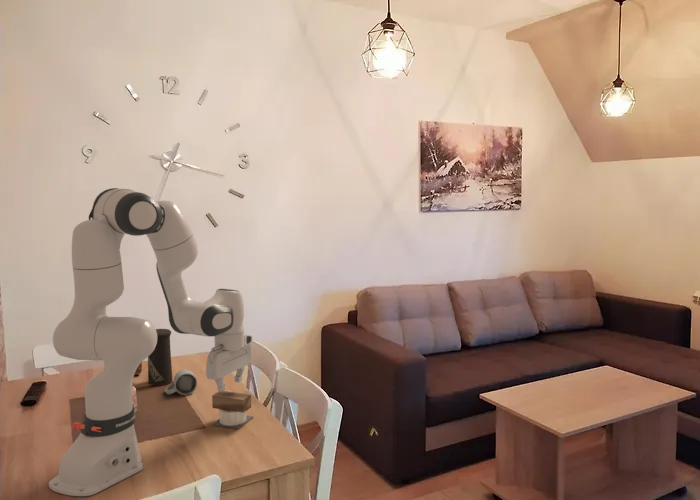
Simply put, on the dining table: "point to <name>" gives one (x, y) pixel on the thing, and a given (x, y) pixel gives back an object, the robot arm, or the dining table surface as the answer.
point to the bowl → (231, 417)
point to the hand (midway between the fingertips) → (230, 386)
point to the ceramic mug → (183, 383)
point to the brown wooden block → (231, 401)
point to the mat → (233, 425)
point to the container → (160, 360)
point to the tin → (138, 369)
